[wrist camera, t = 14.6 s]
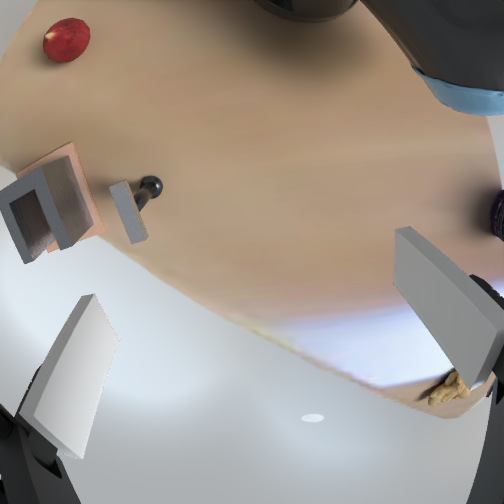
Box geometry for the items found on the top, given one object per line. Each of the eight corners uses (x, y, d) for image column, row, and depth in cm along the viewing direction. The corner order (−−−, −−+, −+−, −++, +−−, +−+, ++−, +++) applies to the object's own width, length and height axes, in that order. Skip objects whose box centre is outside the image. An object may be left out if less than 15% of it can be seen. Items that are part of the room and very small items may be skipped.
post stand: (134, 168, 34) (103, 189, 25) (154, 160, 34) (129, 179, 25) (149, 211, 37) (126, 246, 28) (169, 205, 37) (151, 238, 28)
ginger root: (487, 360, 61) (495, 383, 54) (447, 389, 70) (453, 411, 63) (464, 352, 57) (473, 378, 51) (419, 384, 66) (425, 409, 60)
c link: (23, 180, 32) (-6, 194, 26) (68, 155, 32) (40, 166, 26) (48, 241, 37) (24, 264, 30) (94, 223, 36) (72, 245, 30)
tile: (18, 173, 32) (15, 174, 32) (73, 141, 32) (70, 142, 31) (49, 251, 38) (48, 252, 37) (105, 230, 38) (104, 231, 37)
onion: (86, 17, 24) (57, 1, 17) (107, 42, 27) (80, 28, 19) (54, 48, 25) (21, 40, 18) (74, 73, 28) (41, 68, 21)
